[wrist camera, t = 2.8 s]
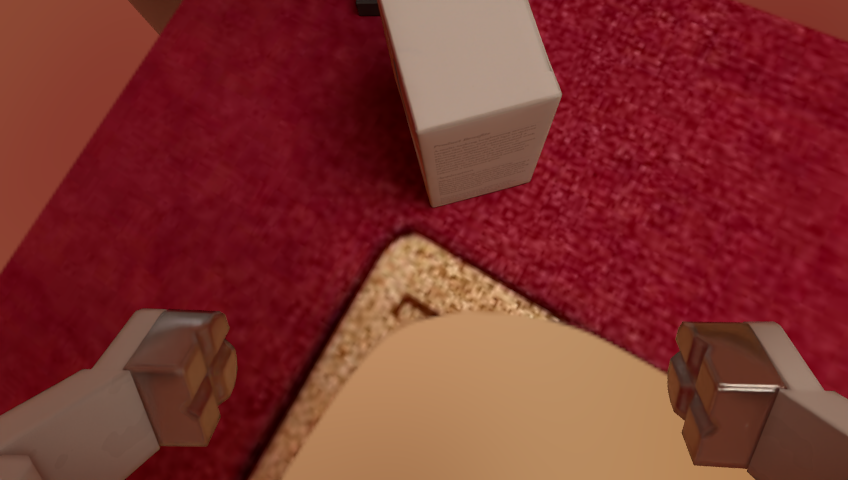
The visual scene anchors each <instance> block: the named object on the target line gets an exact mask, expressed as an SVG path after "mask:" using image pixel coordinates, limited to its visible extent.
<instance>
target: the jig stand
mask: <svg viewBox="0 0 848 480" xmlns="http://www.w3.org/2000/svg"><path fill="white" fill-rule="evenodd" d="M356 6H357V9H358V13H359V15H360V16H370V15H380V11H379V7H378V2H377V0H356Z"/></svg>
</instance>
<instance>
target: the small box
mask: <svg viewBox="0 0 848 480" xmlns="http://www.w3.org/2000/svg"><path fill="white" fill-rule="evenodd" d="M377 2H378V7H379V11H380V15H381V20H382V24H383V28H384V33H385V37H386V42H387V46H388V51H389V55H390V59H391V64H392V68H393V72H394V76H395V80H396V84H397V87H398V90H399V93H400V97H401V100H402V104H403V107H404V111H405V114H406V118H407V122H408V125H409V129H410V132H411V136H412V140H413V143H414V147H415V151H416V155H417V158H418V162H419V166H420V169H421V173H422V176H423V180H424V184H425V187H426V191H427V195H428V198H429V202H430V205H431V207H438V206H442V205H445V204H449V203H453V202H457V201H461V200H465V199H468V198H472V197H476V196H480V195H483V194H487V193H491V192H495V191H498V190H502V189H506V188H510V187H513V186H517V185H520V184H524V183H528V182H530V180H531V178H532V175H533V172H534V169H535V167H536V164H537V161H538V158H539V156H540V153H541V151H542V148H543V145H544V143H545V140H546V137H547V135H548V132H549V129H550V126H551V123H552V121H553V118H554V115H555V113H556V110H557V107H558V104H559V102H560V99H561V96H562V93H561V90H560V87H559V85H558V82H557V80H556V77H555V75H554V72H553V70H552V68H551V65H550V62H549V60H548V57H547V54H546V51H545V49H544V46H543V43H542V40H541V37H540V34H539V31H538V28H537V25H536V22H535V20H534V17H533V14H532V11H531V8H530V5H529V2H528V0H377Z"/></svg>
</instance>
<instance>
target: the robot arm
mask: <svg viewBox="0 0 848 480" xmlns="http://www.w3.org/2000/svg"><path fill="white" fill-rule="evenodd" d="M228 330H229V326H228V322H227V319H226V316H225V314H223V313H222V312H220V311H202V310H180V309H168V310H166V309H146V308H142V309H140V310H138V311H136V312H135V313H134V314H133V315H132V316H131V318H130V319H129V320H128V322H127V323H126V324H125V326H124V327H123V328H122V330H121V331H120V332H119V334H118V335H117V336H116V338H115V339H114V340H113V341H112V343H111V344H110V345H109V347H108V348H107V349H106V351H105V352H104V353H103V355H102V356H101V357H100V359H99V360H98V361H97V363H96V364H95V365H94V367H93V368H92V369H83V370H81V371H79V372H77V373H75V374H74V375H72V376H70V377H68V378H66V379H65V380H63V381H61V382H59V383H58V384H56V385H54V386H52V387H50V388H49V389H47V390H45V391H43V392H41V393H40V394H38V395H36V396H34V397H33V398H31V399H29V400H27V401H25V402H24V403H22V404H20V405H18V406H17V407H15V408H13V409H11V410H9V411H8V412H6V413H4V414H2V415H0V480H125V479H126V478H127V477H128V476H129V475H130V474H132V473H133V472H134V471H135V470H136V469H137V468H138V467H140V466H141V465H142V464H143V463H144V462H145V461H146V460H148V459H149V458H150V457H151V456H152V455H153V454H154V453H156V452H157V451H158V450H159V449H160V447H159V446H207V445H208V443H209V441H210V439H211V437H212V434H213V432H214V430H215V428H216V426H217V423H218V421H219V419H220V417H221V416H220V413H219V409H218V405H220V404H221V403H222V402H224V401H225V400H227V399H228V398H229V397H230V395H231V392H232V390H233V388H234V385H235V380H236V375H237V356H236V352H235V348H234V346H232V345H231V344H230V343H229V342H228V341H227V340H226V339H225V336H226V334H227V332H228ZM676 341H677V344H678V346H679V349H680V351H679V352H678V353H677V354H676V355H674V356H673V357H672V358H671V359H670V364H669V369H668V393H669V398H670V402H671V405H672V408H673V411H674V412H675V413H676V414H677V415H679V416H680V417H681V418H682V419H683V420H685V422H684V426H683V430H682V435H683V438H684V440H685V443H686V446H687V448H688V451H689V454H690V456H691V459H692V461H693V464H694V465H697V466H713V467H714V466H715V467H729V468H745V469H747V472H748V473H749V474H750V475H751V476H752V477H753V478H755V480H848V399H846V398H845V397H843V396H841V395H840V394H838V393H836V392H835V391H824V389H823V388H822V386H821V385H820V383H819V382H818V380H817V379H816V377H815V376H814V374H813V373H812V371H811V370H810V369H809V367H808V366H807V364H806V363H805V361H804V360H803V358H802V357H801V355H800V354H799V352H798V351H797V349H796V348H795V346H794V345H793V343H792V342H791V340H790V339H789V338H788V336H787V335H786V333H785V332H784V330H783V329H782V327H781V326H780V325H779V324H777V323H775V322H743V323H740V322H682V324H681V325H680V327H679V329H678V332H677V336H676Z"/></svg>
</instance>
